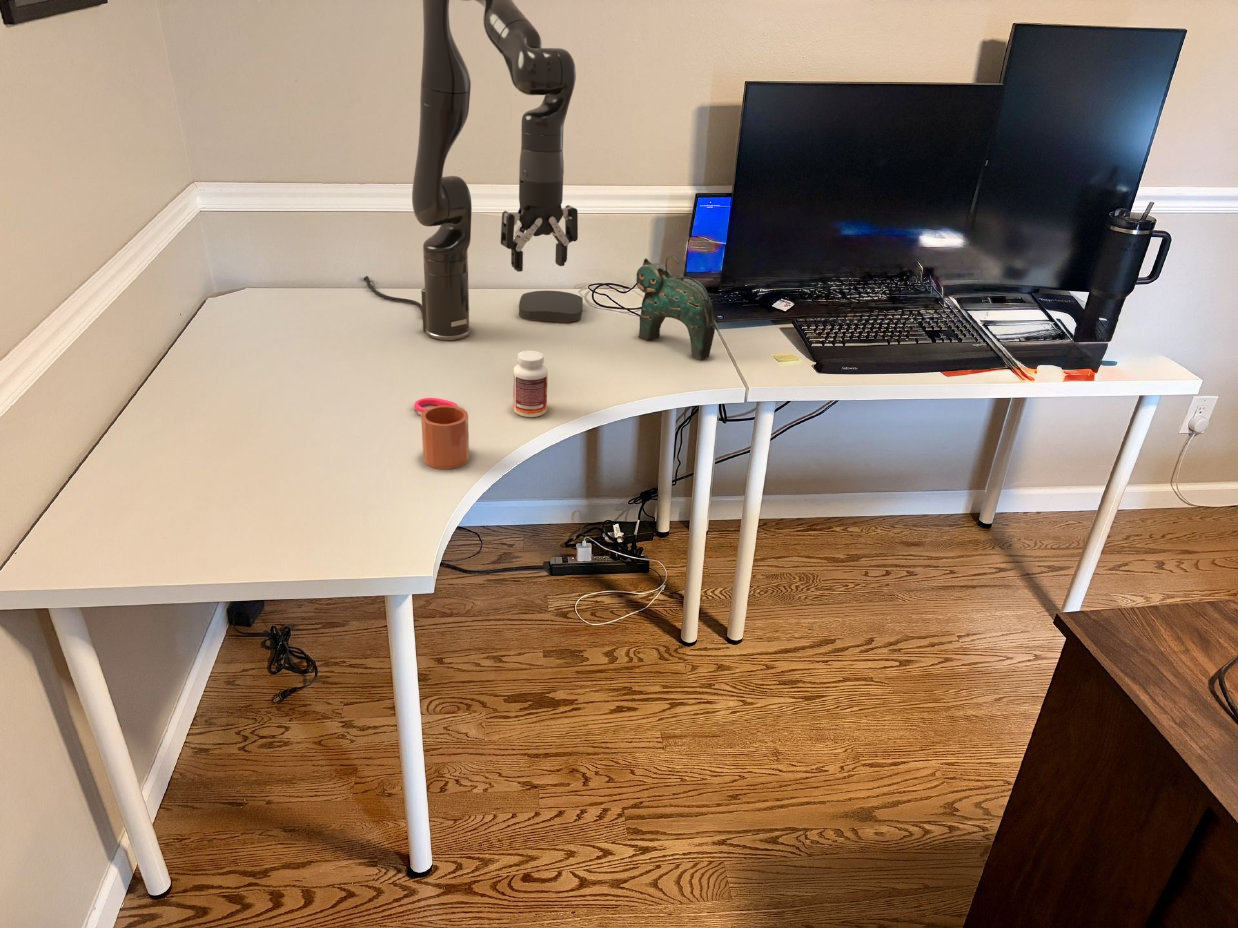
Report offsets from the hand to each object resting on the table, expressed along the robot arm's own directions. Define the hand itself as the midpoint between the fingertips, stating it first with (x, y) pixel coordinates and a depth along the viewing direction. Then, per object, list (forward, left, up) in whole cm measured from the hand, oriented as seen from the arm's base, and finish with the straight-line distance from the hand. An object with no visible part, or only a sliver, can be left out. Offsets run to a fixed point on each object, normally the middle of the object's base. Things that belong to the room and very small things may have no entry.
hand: (539, 267), depth 163 cm
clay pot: (+4, -31, -25) cm, 39 cm away
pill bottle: (+4, -8, -25) cm, 26 cm away
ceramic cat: (+9, +38, -25) cm, 46 cm away
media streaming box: (-24, +38, -25) cm, 51 cm away
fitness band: (-9, -19, -25) cm, 32 cm away
